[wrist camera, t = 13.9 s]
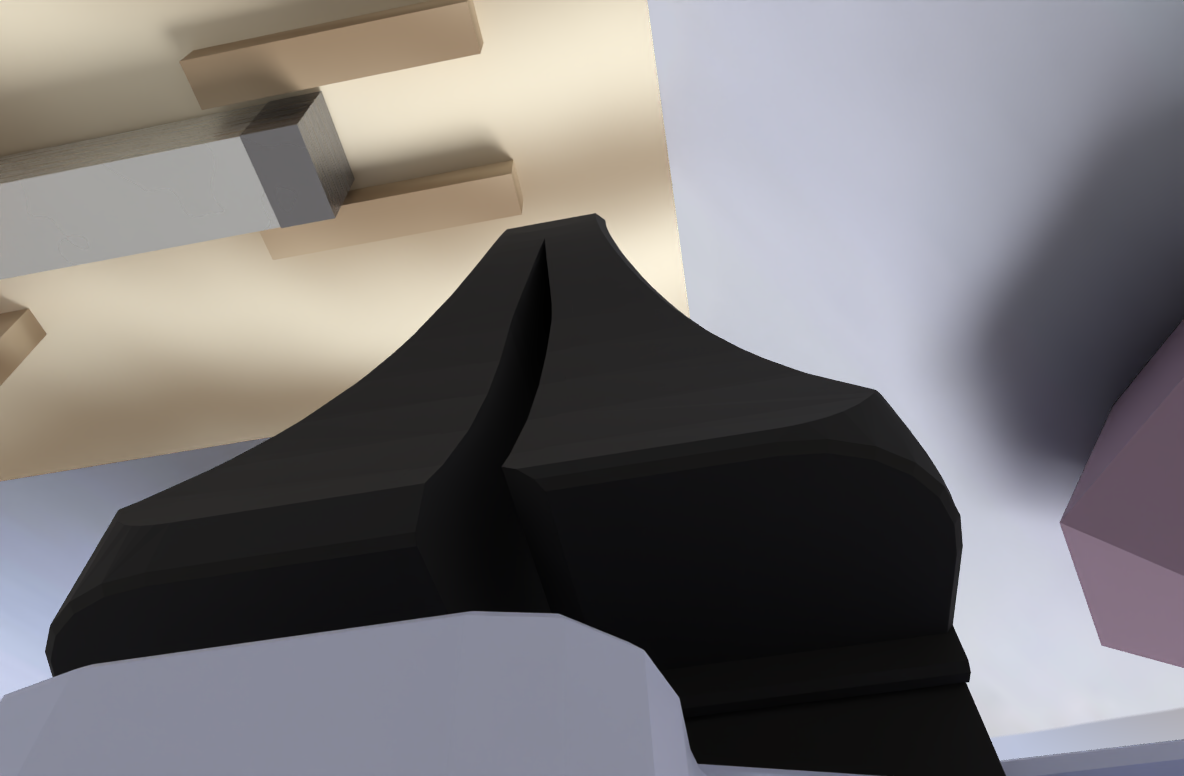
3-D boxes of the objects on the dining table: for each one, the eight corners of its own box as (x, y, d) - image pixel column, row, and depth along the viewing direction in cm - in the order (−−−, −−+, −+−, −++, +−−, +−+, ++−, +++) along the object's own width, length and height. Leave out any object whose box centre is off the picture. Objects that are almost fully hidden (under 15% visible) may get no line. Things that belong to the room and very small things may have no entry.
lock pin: (355, 178, 19) (335, 218, 18) (-65, 259, 20) (-121, 303, 18) (321, 90, 18) (297, 124, 16) (-125, 180, 19) (-190, 221, 17)
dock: (692, 346, 24) (709, 426, 21) (-139, 484, 26) (-224, 572, 23) (607, -276, 15) (616, -283, 12) (-609, 11, 18) (-832, 59, 15)
